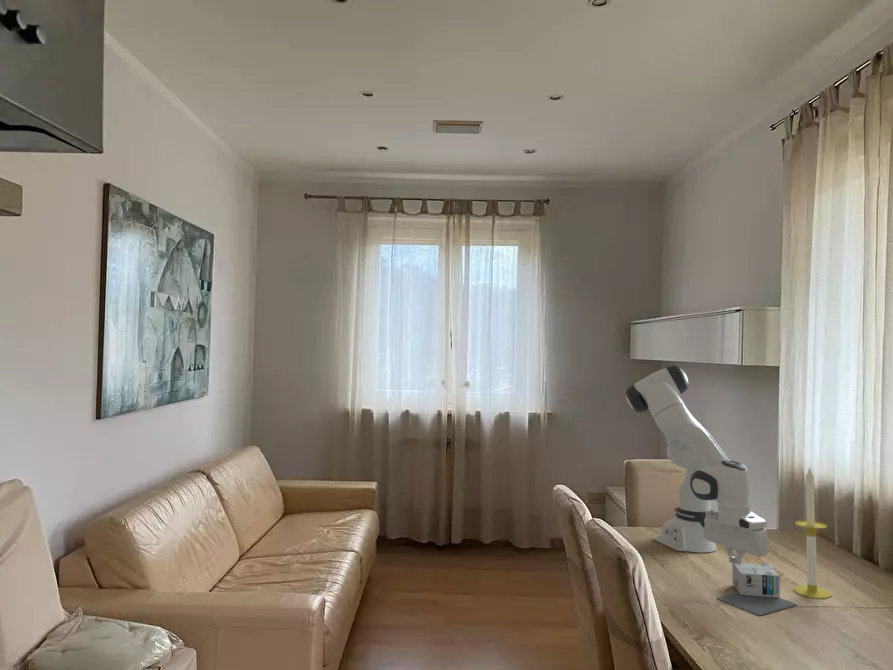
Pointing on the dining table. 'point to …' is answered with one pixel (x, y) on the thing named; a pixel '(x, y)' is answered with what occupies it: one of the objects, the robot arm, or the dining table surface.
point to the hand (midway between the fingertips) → (735, 563)
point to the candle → (811, 545)
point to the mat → (757, 603)
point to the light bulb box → (756, 580)
